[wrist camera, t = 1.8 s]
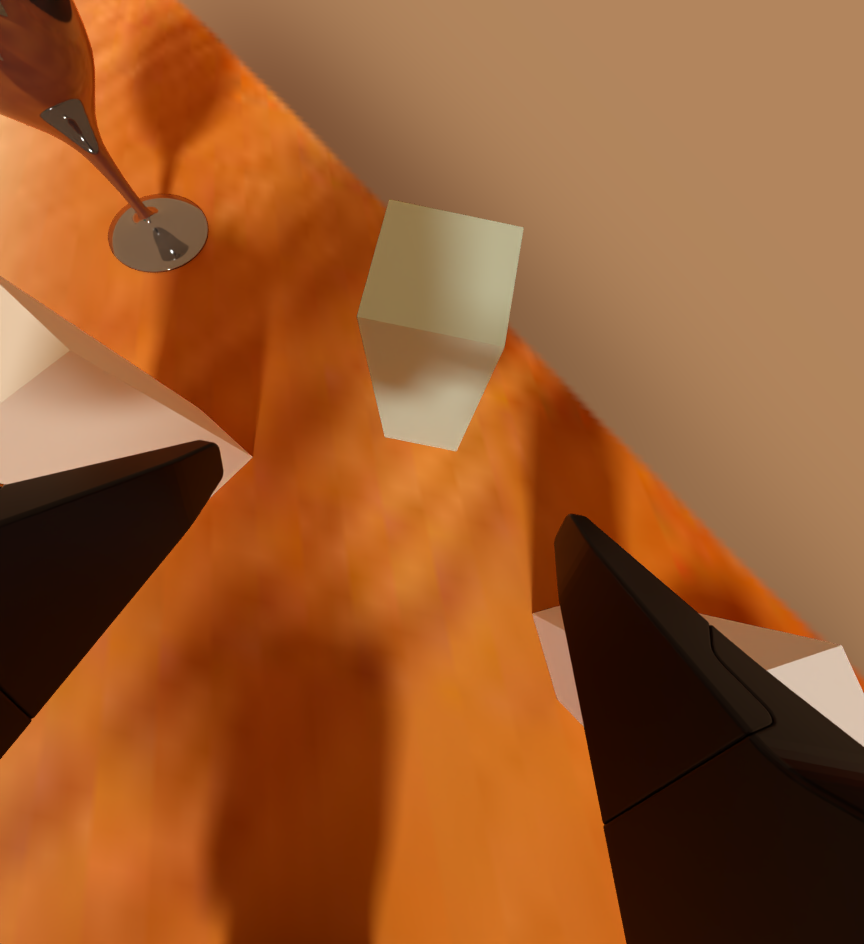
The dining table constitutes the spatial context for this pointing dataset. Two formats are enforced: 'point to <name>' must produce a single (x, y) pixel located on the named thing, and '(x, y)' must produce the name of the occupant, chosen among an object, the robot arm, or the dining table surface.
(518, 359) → the dining table surface
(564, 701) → the pale pink tall block
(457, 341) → the sage block
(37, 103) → the wine glass
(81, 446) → the cream block
